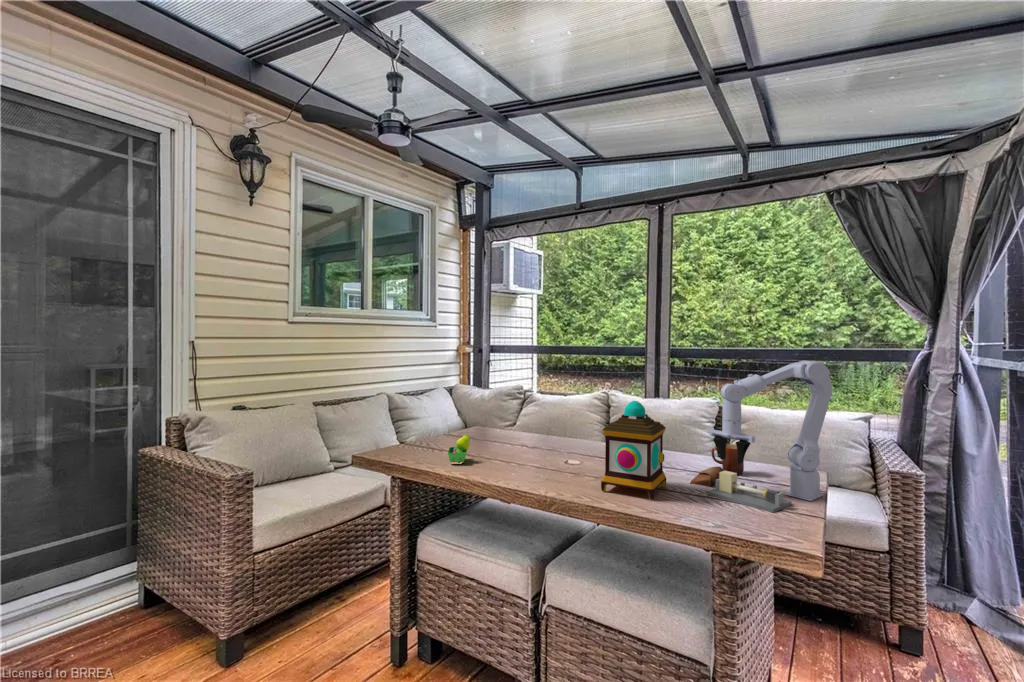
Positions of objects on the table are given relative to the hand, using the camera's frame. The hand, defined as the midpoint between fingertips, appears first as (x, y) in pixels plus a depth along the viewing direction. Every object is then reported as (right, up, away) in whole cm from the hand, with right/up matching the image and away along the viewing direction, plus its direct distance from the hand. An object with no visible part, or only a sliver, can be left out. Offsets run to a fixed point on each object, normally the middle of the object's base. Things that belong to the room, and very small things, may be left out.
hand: (731, 460), depth 160 cm
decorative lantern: (-32, -10, +2) cm, 34 cm away
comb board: (+2, -10, -7) cm, 13 cm away
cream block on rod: (-2, -9, -2) cm, 10 cm away
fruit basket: (-95, -10, +37) cm, 102 cm away
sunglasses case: (-2, -11, +14) cm, 18 cm away
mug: (+10, -11, +24) cm, 28 cm away
